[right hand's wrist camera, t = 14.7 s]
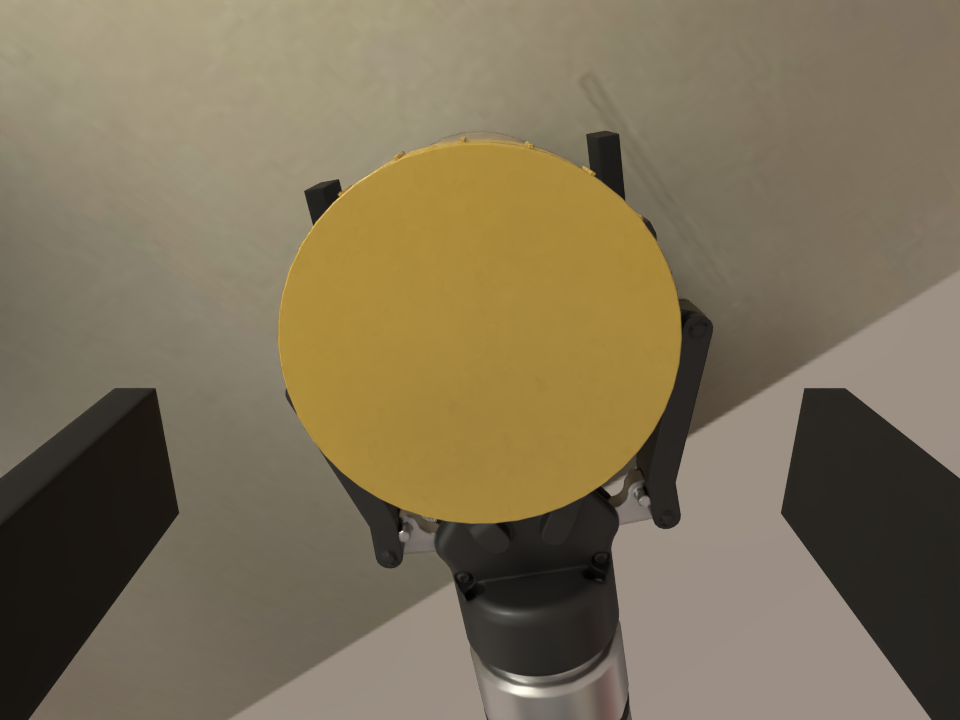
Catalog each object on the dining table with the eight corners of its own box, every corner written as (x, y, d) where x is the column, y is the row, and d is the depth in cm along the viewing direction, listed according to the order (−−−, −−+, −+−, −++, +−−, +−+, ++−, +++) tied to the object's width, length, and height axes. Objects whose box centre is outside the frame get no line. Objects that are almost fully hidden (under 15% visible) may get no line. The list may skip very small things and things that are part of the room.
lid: (456, 46, 17) (452, 39, 15) (738, 308, 20) (768, 333, 18) (226, 347, 20) (198, 375, 18) (497, 542, 23) (499, 585, 21)
